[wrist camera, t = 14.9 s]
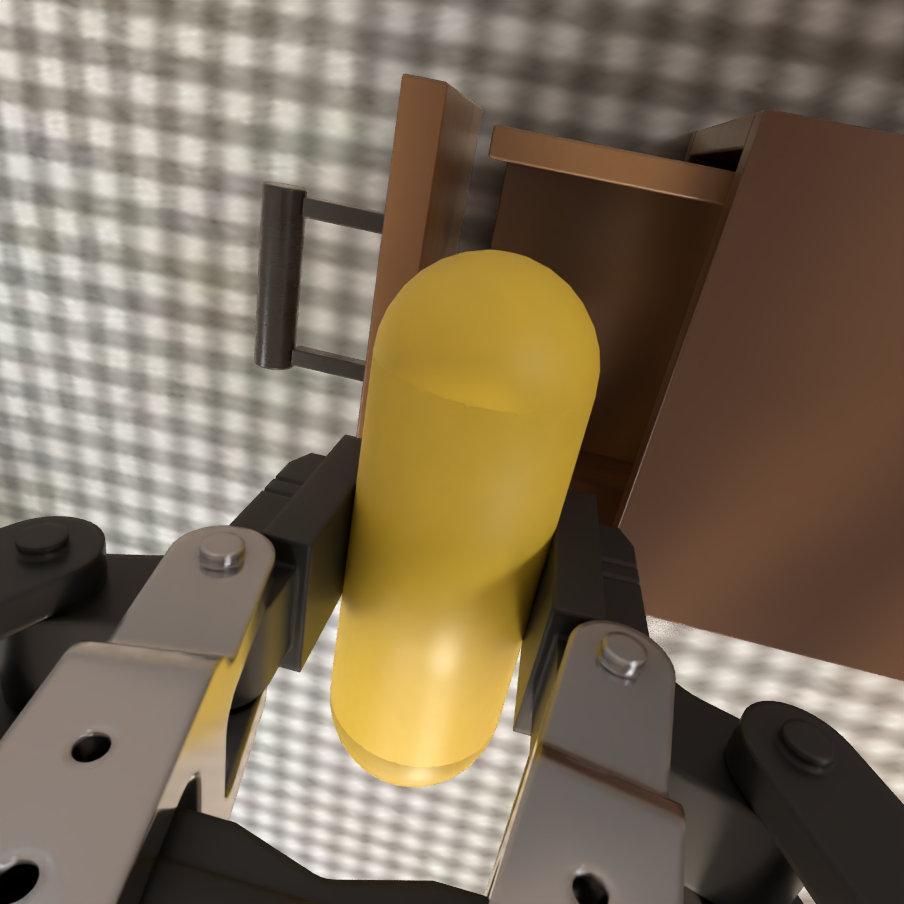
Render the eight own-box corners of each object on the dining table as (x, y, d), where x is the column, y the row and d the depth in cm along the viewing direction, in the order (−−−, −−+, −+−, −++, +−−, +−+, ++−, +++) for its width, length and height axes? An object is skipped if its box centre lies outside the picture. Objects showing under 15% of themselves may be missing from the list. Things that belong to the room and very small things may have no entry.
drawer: (298, 404, 28) (215, 475, 22) (324, 76, 23) (224, 38, 16) (725, 507, 27) (777, 617, 20) (866, 183, 21) (1001, 189, 15)
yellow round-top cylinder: (396, 217, 9) (376, 249, 7) (598, 255, 10) (664, 301, 7) (336, 677, 14) (307, 818, 11) (479, 693, 14) (489, 836, 11)
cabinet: (584, 477, 28) (591, 602, 20) (692, 131, 22) (765, 107, 14) (939, 562, 27) (1101, 732, 19) (1156, 222, 21) (1535, 255, 13)
